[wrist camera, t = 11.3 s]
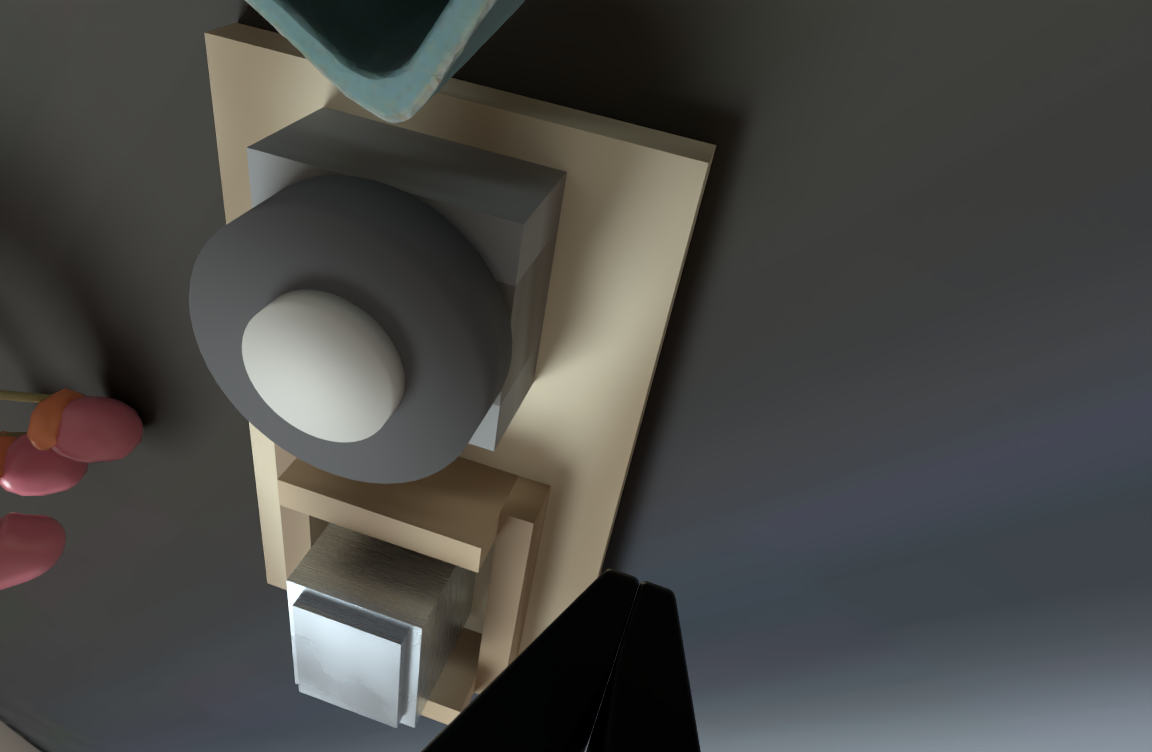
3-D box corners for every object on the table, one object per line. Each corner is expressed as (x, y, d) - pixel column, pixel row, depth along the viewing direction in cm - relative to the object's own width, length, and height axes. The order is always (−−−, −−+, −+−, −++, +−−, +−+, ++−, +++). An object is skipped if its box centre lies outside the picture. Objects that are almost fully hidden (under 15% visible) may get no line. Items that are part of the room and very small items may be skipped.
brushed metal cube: (483, 514, 25) (415, 640, 21) (470, 612, 28) (408, 739, 24) (366, 474, 25) (278, 591, 22) (365, 575, 28) (288, 694, 24)
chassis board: (716, 145, 18) (685, 217, 15) (576, 662, 30) (541, 768, 26) (235, 22, 19) (108, 63, 16) (285, 560, 31) (217, 647, 28)
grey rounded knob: (573, 169, 18) (483, 280, 13) (536, 395, 21) (457, 538, 17) (309, 99, 18) (144, 181, 14) (319, 329, 22) (191, 448, 18)
